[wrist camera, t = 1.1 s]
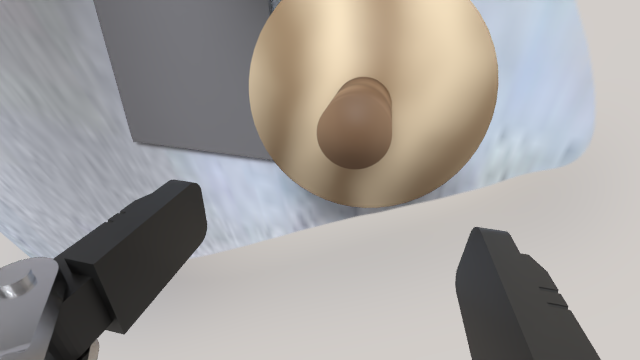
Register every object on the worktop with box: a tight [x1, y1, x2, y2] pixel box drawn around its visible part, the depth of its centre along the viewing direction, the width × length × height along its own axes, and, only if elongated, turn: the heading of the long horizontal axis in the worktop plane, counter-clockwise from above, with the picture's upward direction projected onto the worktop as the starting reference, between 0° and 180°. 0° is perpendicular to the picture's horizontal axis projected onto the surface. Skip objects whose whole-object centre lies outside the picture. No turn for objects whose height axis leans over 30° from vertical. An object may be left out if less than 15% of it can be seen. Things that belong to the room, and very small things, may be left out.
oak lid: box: [249, 0, 498, 208], centre depth 19 cm, size 17×17×7 cm
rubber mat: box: [93, 0, 273, 160], centre depth 31 cm, size 18×18×1 cm
